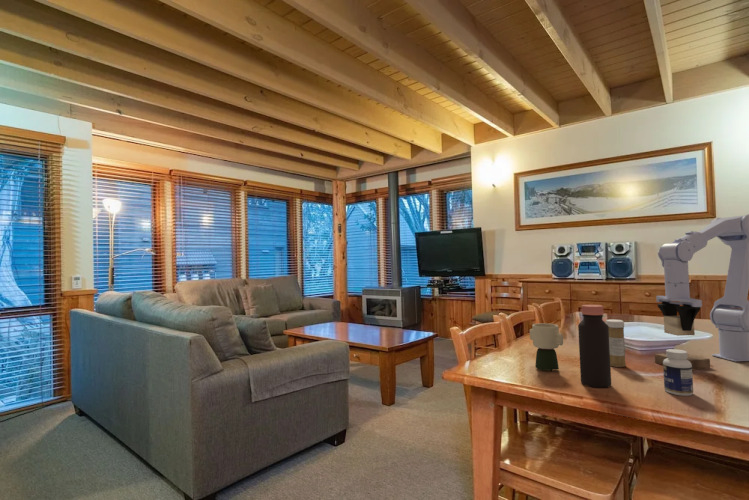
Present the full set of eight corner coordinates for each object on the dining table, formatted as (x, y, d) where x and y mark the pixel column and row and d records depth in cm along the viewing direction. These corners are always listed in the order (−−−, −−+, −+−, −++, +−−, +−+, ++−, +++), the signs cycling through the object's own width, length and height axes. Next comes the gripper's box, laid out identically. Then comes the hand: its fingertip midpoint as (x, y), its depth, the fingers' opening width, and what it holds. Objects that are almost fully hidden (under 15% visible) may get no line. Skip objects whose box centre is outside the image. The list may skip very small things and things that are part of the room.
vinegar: (614, 383, 99) (610, 305, 100) (606, 390, 94) (602, 307, 95) (585, 378, 104) (582, 303, 105) (577, 384, 99) (573, 306, 100)
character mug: (572, 372, 110) (570, 326, 111) (555, 376, 107) (553, 328, 107) (539, 364, 120) (537, 321, 120) (523, 367, 116) (521, 324, 117)
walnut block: (679, 361, 119) (679, 352, 119) (710, 369, 110) (709, 358, 111) (655, 364, 118) (654, 354, 118) (684, 372, 109) (683, 361, 109)
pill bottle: (658, 389, 94) (656, 348, 94) (679, 388, 95) (677, 347, 95) (677, 397, 89) (675, 354, 89) (699, 395, 89) (697, 352, 90)
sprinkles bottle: (611, 362, 119) (609, 318, 119) (628, 365, 115) (626, 320, 116) (605, 365, 116) (603, 320, 116) (622, 368, 112) (620, 321, 113)
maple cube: (680, 332, 118) (679, 315, 118) (694, 335, 112) (693, 317, 113) (664, 332, 117) (663, 315, 118) (677, 335, 112) (676, 318, 113)
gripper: (646, 282, 123) (648, 325, 122) (683, 284, 108) (685, 333, 108) (668, 281, 123) (670, 324, 122) (708, 283, 108) (710, 332, 108)
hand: (679, 328), depth 115 cm, fingers closed on maple cube, 5 cm apart
